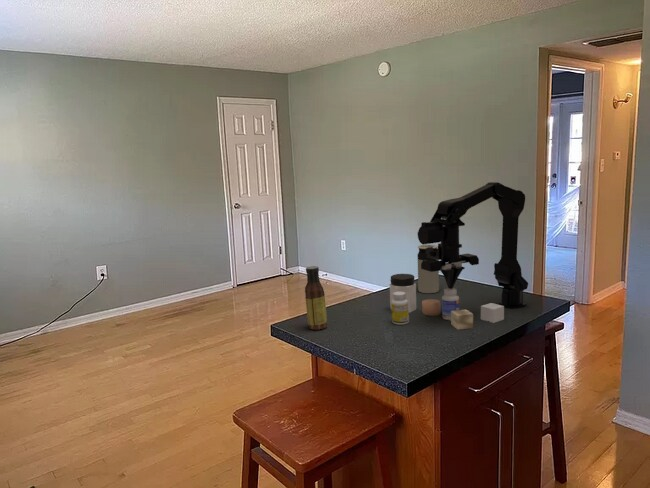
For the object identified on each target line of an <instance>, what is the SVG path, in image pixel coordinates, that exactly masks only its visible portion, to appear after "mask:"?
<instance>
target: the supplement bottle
mask: <svg viewBox="0 0 650 488" xmlns="http://www.w3.org/2000/svg"><path fill="white" fill-rule="evenodd" d="M393 298H394V299H393V300H392V302H391V305H392V310H391V321H392V323H393V324H395V325H400V326H401V325H407V324H409V322H410V315H409V314H410V313H409V307H408V300H407V299H405V298H406V293H405V292H394V293H393Z"/></svg>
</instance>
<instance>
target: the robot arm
mask: <svg viewBox="0 0 650 488" xmlns="http://www.w3.org/2000/svg"><path fill="white" fill-rule="evenodd" d="M491 198H492V199H493V200H495V201H497V203H498V204H497V206H498V210H499V212H500V213H501V215H502V229H501V231H502V232H501V233H502V234H501V236H502V237H501V254H500V259H499V261H498V262H495V263H494V265H493V266H494V271H493V275H494V278H495V280H496V282H497V284H498V287H502V288H501V289H502V292H501V301H499V302H498V305H501V306H504V307H506V308H510V309H514V308H515V309H516V308H522V307H525V306H527V303H525V302H524V296H523V295H524V291H525V290H527V289H528V286H529V282H528V281H527V280H526V279H525V278H524V277H523V276H522V275H523V273H522V267H521V265H520V263H519V260H518V241H519V240H518V239H519V238H518V237H519V218H520V216H521V214H522V213H523V211H524V208H525V203H526V194H525V193H524V192H523V191H522V190H519V189H518V190H517V189H514V188H512V187H509V186H506V185H504V184H502V183H501V182H498V181H497V182H494V181H493V182H491V181H490V182H487V183H486V184H485V185H483V186H480V187H478V188H477V189H474V190H472V191H471V192H469V193H467V194H464V195H462V196H459V197H457V198H450V199H449V198H448V199H445V200H442V201H440V202H439V203H438V204H437V208H436V210H435V213H434V214H433V216H432V217H431V219H430V221H428V222H426V221H425V222H424V221H422V222H421V225H420V227H419V229H418V231H417V239H418V242H419V243H420V245H432V244H436V243H437V246H438V247H437V249H433V247H428V248H426V257H427V258H429V257H431V259H428V260H423V261H422V263H421V269H424V270H427V271H430V272H435V271H440V272H441V274H442V276H443V278H444V281H445V282H446V285H447V288H449V289H452V288H454V286H455V284H456V282H457V281H458V278H459V276H460V275H461V273H462V272H463V270H465V269H466V268H465V266H463V265H462V264H466V263H469V265H471V266H476V265H479V263H480V258H479V257H478V255H476V254H472V253H462V254H460V248H463V246H462V245H463V243H460V227H463V226H465V225H466V223H465V222H464V221H463V220H462V219H461V218H462V217H464V215H466V214H467V212H468V210H470V209H472V208H473V207H476V206H477V205H480V204H481V203H483V202H485V201H487V200H490V199H491ZM434 259H438V260H439V261H438V260H434Z"/></svg>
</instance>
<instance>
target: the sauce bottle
mask: <svg viewBox="0 0 650 488" xmlns="http://www.w3.org/2000/svg"><path fill="white" fill-rule="evenodd" d="M305 271H306V272H305V273H306V278H307V279H306V281H307V283H306V285H305V286H304V287H305V288H304V293H305V294H304V295H305V306H306V318H307V319H306V320H307V324H308V328H309V329H310V330H314V331H320V329H321V330H324V329H325V328H327V327H328V316H327V315H328V314H327V306H326V305H327V303H326V297H325V295H326V294H325V291H324V290H325V289H324V287H323V285H322V284H321V280H320V273H319V271H320V269H319V266H315V265H313V266H312V265H310V266H307V267H306V268H305Z"/></svg>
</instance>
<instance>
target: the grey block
mask: <svg viewBox="0 0 650 488" xmlns="http://www.w3.org/2000/svg"><path fill="white" fill-rule="evenodd" d="M480 320H482V321H485V322H488V321H489V322H488V323H492V324H495V323H497V322H500V321H503V320H505V306H504V305H501V304H498V303H497V304H496V303H494V302H493V303H492V302H490V303H487V304H483V305H480Z"/></svg>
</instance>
